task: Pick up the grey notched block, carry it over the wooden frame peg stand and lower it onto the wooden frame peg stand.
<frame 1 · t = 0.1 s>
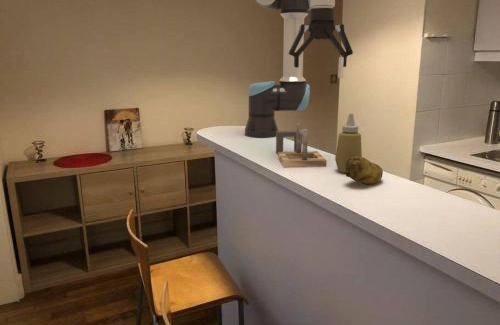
hand: (319, 78, 133), 28 cm above the worktop, fingers open, 13 cm apart
squeeze bottle: (347, 172, 129), on the worktop
grey notched block: (288, 152, 153), on the worktop
potato: (364, 183, 117), on the worktop
wooden frame peg stand: (301, 161, 140), on the worktop
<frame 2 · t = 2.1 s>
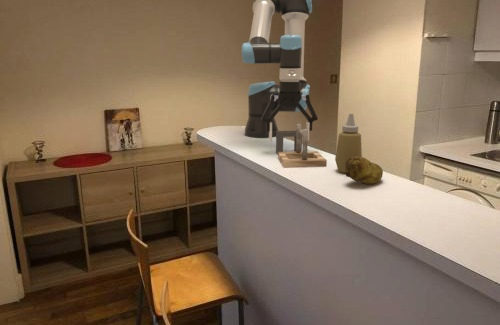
hand: (288, 140, 151), 5 cm above the worktop, fingers open, 13 cm apart
nothing on the worktop moved.
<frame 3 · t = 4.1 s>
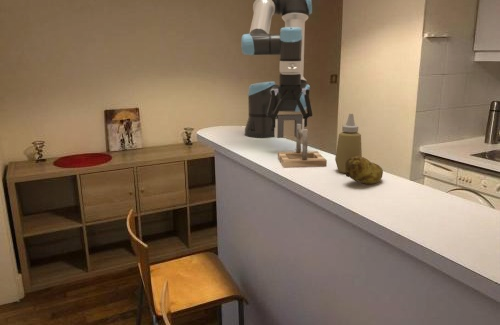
hand: (289, 135, 152), 6 cm above the worktop, fingers closed on grey notched block, 9 cm apart
grey notched block: (288, 136, 152), point 6 cm above the worktop, touching gripper
everything else where it was.
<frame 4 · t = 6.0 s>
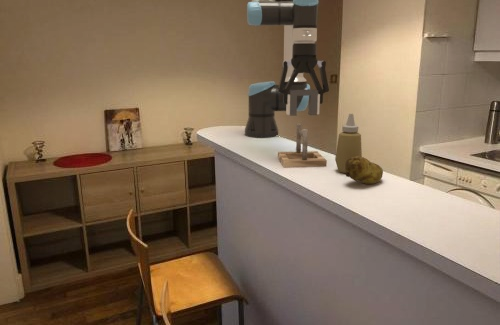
hand: (302, 114, 136), 16 cm above the worktop, fingers closed on grey notched block, 9 cm apart
grey notched block: (302, 114, 136), point 16 cm above the worktop, touching gripper
everything else where it was.
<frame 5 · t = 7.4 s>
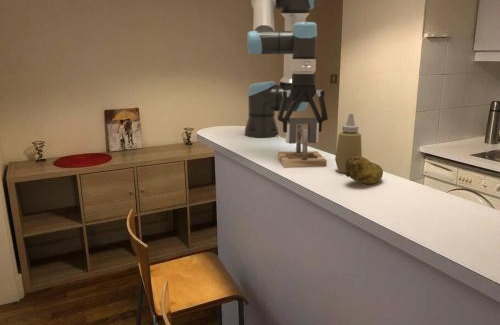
hand: (301, 141, 138), 7 cm above the worktop, fingers closed on grey notched block, 9 cm apart
grey notched block: (301, 142, 138), point 7 cm above the worktop, touching gripper
everything else where it was.
when the fingers open (5 cm above the worktop, at t = 8.5 s): grey notched block stays where it is, resting on wooden frame peg stand.
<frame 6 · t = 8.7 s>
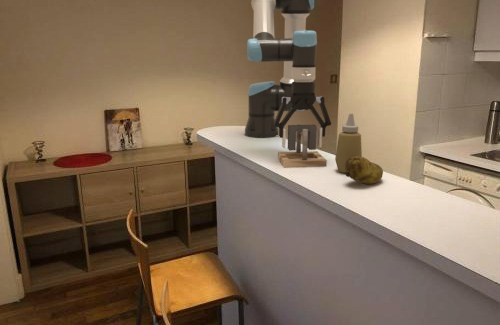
hand: (301, 146, 139), 5 cm above the worktop, fingers open, 11 cm apart
grey notched block: (301, 149, 139), point 4 cm above the worktop, touching wooden frame peg stand
everything else where it was.
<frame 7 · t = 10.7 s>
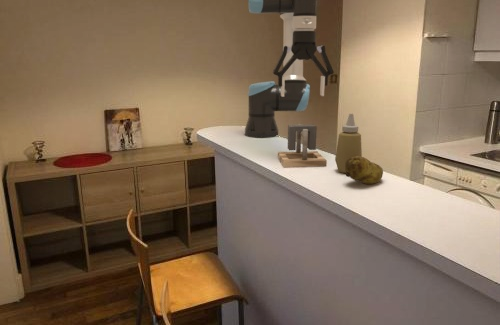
hand: (302, 95, 141), 22 cm above the worktop, fingers open, 13 cm apart
nothing on the worktop moved.
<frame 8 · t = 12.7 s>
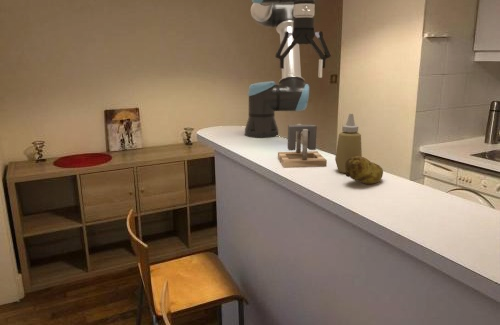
hand: (302, 77, 154), 27 cm above the worktop, fingers open, 13 cm apart
nothing on the worktop moved.
at the end: grey notched block 0.0 cm off-centre on the wooden frame peg stand, point 4.4 cm above the wooden frame peg stand's base; grey notched block touching wooden frame peg stand; the gripper is holding nothing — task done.
